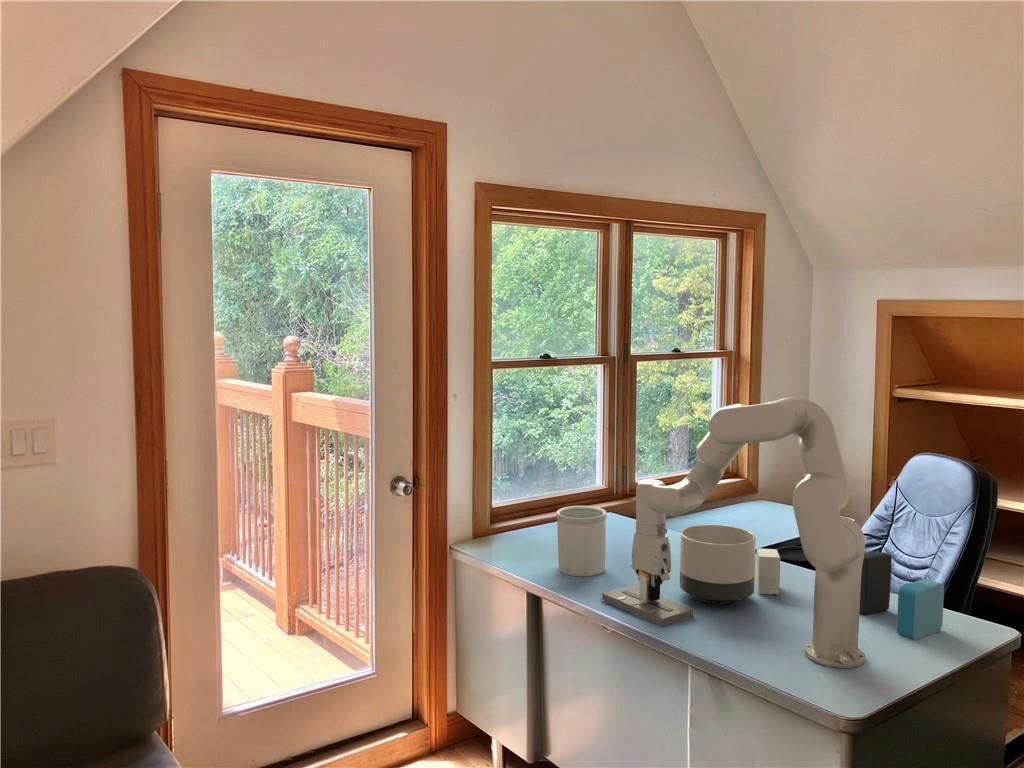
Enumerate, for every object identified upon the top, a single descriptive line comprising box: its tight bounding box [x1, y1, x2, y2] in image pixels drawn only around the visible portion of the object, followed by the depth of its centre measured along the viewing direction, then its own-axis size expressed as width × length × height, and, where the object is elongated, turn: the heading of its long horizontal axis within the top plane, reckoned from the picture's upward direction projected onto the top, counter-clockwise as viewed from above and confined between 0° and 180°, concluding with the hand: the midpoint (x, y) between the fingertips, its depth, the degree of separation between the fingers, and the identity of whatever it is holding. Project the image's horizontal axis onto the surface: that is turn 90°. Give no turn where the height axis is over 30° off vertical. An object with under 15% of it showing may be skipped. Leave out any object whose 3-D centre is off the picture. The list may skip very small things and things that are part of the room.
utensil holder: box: [555, 505, 607, 577], centre depth 246 cm, size 15×15×18 cm
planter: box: [679, 524, 756, 605], centre depth 222 cm, size 19×19×18 cm
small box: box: [755, 547, 781, 596], centre depth 229 cm, size 8×6×10 cm
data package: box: [896, 578, 945, 641], centre depth 199 cm, size 12×4×12 cm, turn 123°
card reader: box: [859, 551, 893, 616], centre depth 213 cm, size 9×4×15 cm, turn 111°
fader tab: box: [638, 571, 660, 604], centre depth 214 cm, size 2×5×8 cm, turn 126°
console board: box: [601, 584, 695, 628], centre depth 216 cm, size 22×11×2 cm, turn 36°
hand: (649, 597), depth 215 cm, fingers closed on fader tab, 2 cm apart
